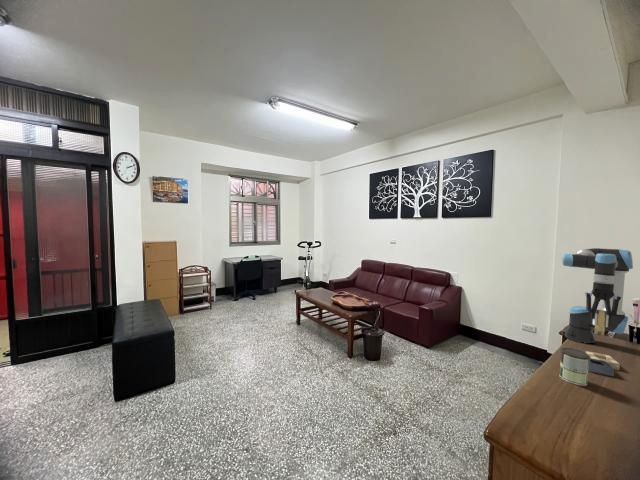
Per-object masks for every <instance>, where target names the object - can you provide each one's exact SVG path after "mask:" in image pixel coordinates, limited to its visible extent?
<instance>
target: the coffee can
mask: <svg viewBox="0 0 640 480" xmlns="http://www.w3.org/2000/svg"><path fill="white" fill-rule="evenodd" d="M589 358H590V356H589V355H588V354H587V353H586V351H585V352H584V351H582V350H580V349H575V348H572V347H571V348H570V347H561V348H560V362H559V363H560V364H559V365H560V366H559V375H558V376H559V377H561V378H560V379H561V380H563V381H565V382H567V383H569V384H573V385H576V386H583V387H586V386H588V378H589V371H588V368H589Z"/></svg>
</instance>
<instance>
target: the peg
mask: <svg viewBox="0 0 640 480" xmlns="http://www.w3.org/2000/svg"><path fill="white" fill-rule="evenodd" d="M596 313H597V325H596V326H595V328H594V333H593V334H594V335H597V336H602V337H603V336H605V332H606V330H605V319H606V311H604V310H599V308H597V310H596Z"/></svg>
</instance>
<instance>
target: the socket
mask: <svg viewBox="0 0 640 480" xmlns="http://www.w3.org/2000/svg"><path fill="white" fill-rule="evenodd" d="M588 373H594V374H599V375H604V376H607V377H612V378H614V377H615V370H614V369H613V368H612V367H611V366H610V365H609V364H608V363H607V362H606V361H602V360H597V359H592V358H589V368H588Z"/></svg>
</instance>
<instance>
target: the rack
mask: <svg viewBox="0 0 640 480" xmlns="http://www.w3.org/2000/svg"><path fill="white" fill-rule="evenodd" d="M585 353H587V354H588V355H589V356H590V358H592V359H597V360H602V361H606V362H607V363H608V364H609V365H610V366H611V367H612V368H613V369H614V371H620V365H621V364H620V363H619V362H618V361H616V360H615V359H614V358H613V357H612V356H611V355H608V354H603V353H599V352H594V351H593V352H592V351H589V350H585Z"/></svg>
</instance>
